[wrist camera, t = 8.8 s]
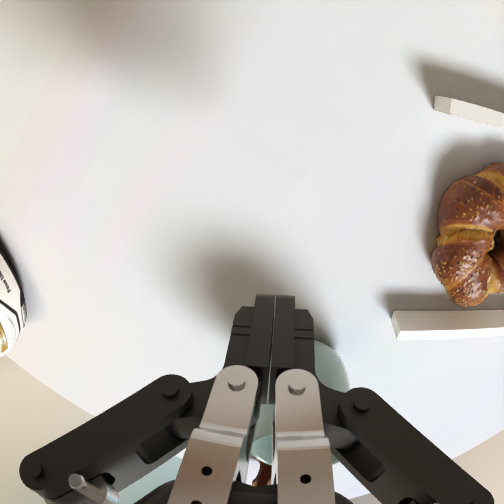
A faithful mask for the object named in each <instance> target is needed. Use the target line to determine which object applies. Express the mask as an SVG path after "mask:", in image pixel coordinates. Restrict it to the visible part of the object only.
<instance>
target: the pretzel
mask: <svg viewBox="0 0 504 504" xmlns="http://www.w3.org/2000/svg"><path fill="white" fill-rule="evenodd" d="M438 226H439V231H440V235H439V236H438V238H437V245H438V247H436V249H435V250H434V251H433V253H432V268H433V271H434V273H435V274H436V277H437V279H438V280H439V281H440V282H441V284H443V286H444V287H445V289H446V292H447V294H448V296H449V298H450V300H452V301H453V302H454V303H457V304H458V305H461V306H463V307H464V306H466V307H470V306H471V307H472V306H475V305H477V304H479V303H482V302H483V301H484V300H485V299H486V297H487V296H488V295H489V293H501V292H504V162H497V163H491V164H490V165H488V166H486V167H485V168H484V169H482V170H481V171H480V172H479V173H478V174H476V175H470V176H466V177H464V178H462V179H460V180H458V181H455V182H454V183H453V184H452V185H451V186H450V187H449V188H448V190H447V191H446V192H445V194H444V196H443V198H442V200H441V202H440V206H439V211H438ZM499 229H500V233H501V234H500V235H499V237H498V238H497V240H496V242H495V244H494V235H495V232H496V231H497V230H499Z"/></svg>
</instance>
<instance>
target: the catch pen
mask: <svg viewBox="0 0 504 504" xmlns="http://www.w3.org/2000/svg"><path fill="white" fill-rule="evenodd" d="M434 110H436V111H439V112H443V113H446V114H449V115H453V116H458V117H462V118H466V119H470V120H474V121H477V122H481V123H485V124H488V125H492V126H495V127H499V128H502V129H504V113H501V112H498V111H495V110H492V109H489V108H485V107H482V106H478V105H475V104H471V103H468V102H464V101H460V100H456V99H452V98H447V97H442V96H436V95H435V97H434ZM391 321H392V324H393V328H394V331H395V335H396V339H397V340H428V339H454V338H472V337H487V336H499V335H504V309H503V310H461V311H404V310H394V312H393V315H392V318H391Z"/></svg>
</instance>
